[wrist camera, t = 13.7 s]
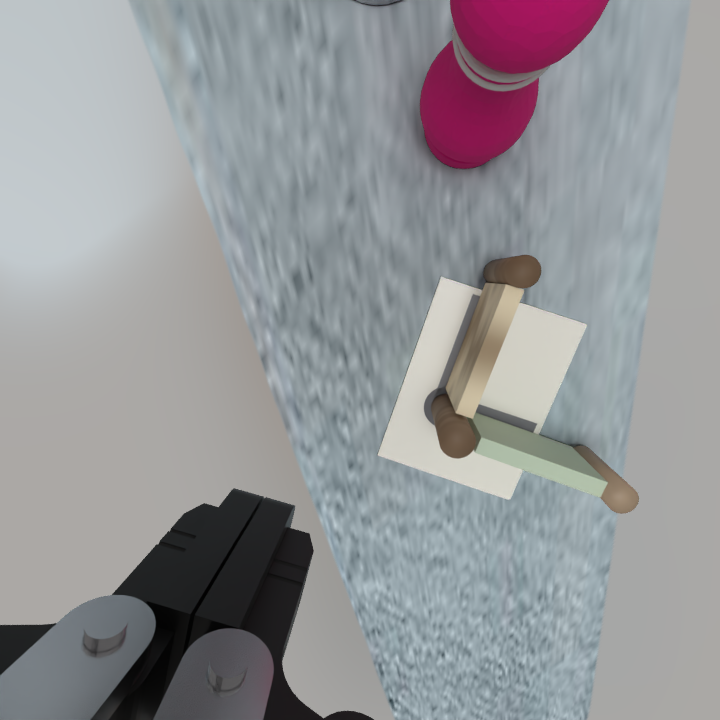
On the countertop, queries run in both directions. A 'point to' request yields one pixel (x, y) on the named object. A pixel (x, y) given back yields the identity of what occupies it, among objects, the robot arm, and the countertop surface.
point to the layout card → (501, 395)
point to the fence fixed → (481, 351)
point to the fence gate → (552, 461)
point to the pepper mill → (496, 72)
